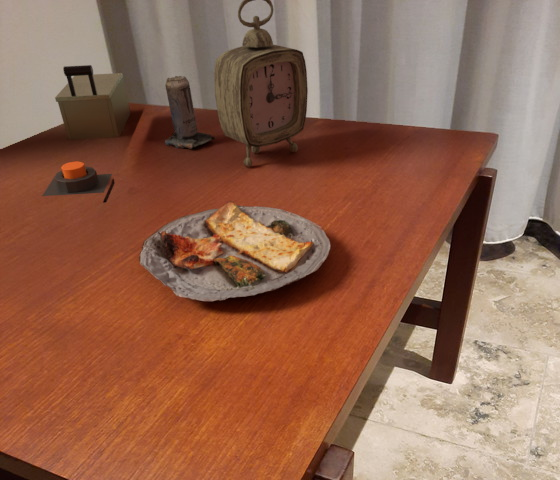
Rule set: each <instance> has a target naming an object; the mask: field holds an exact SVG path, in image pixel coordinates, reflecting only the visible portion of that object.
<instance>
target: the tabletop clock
mask: <svg viewBox="0 0 560 480" xmlns="http://www.w3.org/2000/svg"><path fill="white" fill-rule="evenodd" d="M253 1H255V0H242V1H241V3H240V5H239V6H238V10H237V18H238V20H239V22H240V24H241V25H243V26H245V27H247V28H252V29H249V30H247V31H246V33H244V36H243V39H242V43H241V44H242V45H241V46H238V47H234V48H231V49H229V50H227V51H225V52H223V53H222V54H221V55H219V56H218V57H217V58H216V59H215V63H214V69H213V80H214V96H215V103H216V110H217V116H218V121H219V124H220V128H221V131H222V132H223V134H224V136H225V137H228V138H230V139H232V140H234V141H236V142H239V143H242V144H244V145H245V149H246V151H245V152H246V157H245V158H244V159H243V165H244V167H246V168H250V167H252V166H253V160H252V158H251V152H252V153H253V154H254V155H257V154H259V153H260V151H261V147H265V146H271V145H275V144H279V143H281V142H283V141H286V142H287V143H288V144H289V150H290V152H292V153H296V152H298V150H299V146H298V144H297V143H296V142H293V141H292V139H291V138H293V137H295V136H297V135H298V134H299V133H300V132H302V131H303V130H304V127H305V123H306V119H307V111H308V110H307V109H308V95H309V92H308V91H309V90H308V89H309V88H308V72H307V65H306V59H305V56H304V52H303V51H301V50H298V49H295V48H291V47H286V46H282V45H277V44H274V42H273V39H272V35H271V34H270V32H268V30H267V29H265V28H261V26H264V25H266V24H267V23H268V22H270V21H271V19H272V17H273V15H274V5H273V3H272V0H263V1H264V2H266V3H267V4H268V5H269V7H270V11H269V12H270V13H269V14H268V16H267V17H266V18H264V19H261V20H260V17H259V16H258V15H254V16H253V18H252V20H253V21H251V22H249V21H245V20H244V19H243V18H242V15H241V13H242V11H243V9H244V7H245V5H247V4H248V3H250V2H251V3H252V2H253Z"/></svg>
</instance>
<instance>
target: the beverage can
mask: <svg viewBox="0 0 560 480" xmlns="http://www.w3.org/2000/svg"><path fill="white" fill-rule="evenodd" d="M164 87H165V90H166V96H167V101H168V105H169V111H170V116H171V122H172V125H173V129H174V131H173V132H172V135H171V136H169V137H168V139H165V141H164V143H165V145H166V146H167V147H169V146H174V148H177V149H179V148H181V149H184V148H187V149H188V150H193V148H196V147H198V146H200V145H203V144H206V143H207V142H211V141H213V140H216V138H215V135H214V136H213V135H212V134H209V133H205V132H201V131H200V132H199V131H198V125H197V120H196V115H195V108H194V103H193V97H192V90H191V85H190V81H189V80H188V78H187V77H186V76H182V75H179V76H178V75H175V76H172V77H167V78H166V81H165V85H164Z"/></svg>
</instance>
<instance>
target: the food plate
mask: <svg viewBox="0 0 560 480" xmlns="http://www.w3.org/2000/svg"><path fill="white" fill-rule="evenodd" d="M330 250H331V241H330V238H329V237H328V236H327V233H326V232H325V229H324V228H322V227H321V226H320V225H319V224H317V223H315V222H314V221H312V220H310V219H308V218H306V217H303V216H301V215H299V214H297V213H294V212H290V211H289V210H284V209H282V208H278V207H277V208H275V207H268V206H259V205H257V206H248V205H245V206H244V205H237V204H236V203H235V200H227V201H226V203H225V204H223V205H222V206H221V207H219V208H211V209H207V210H204V211H199V212H196V213H192V214H188V215H183V216H181V217H179V218H177V219H174V220H171V221H169V222H167V223H165V224H164V225H163V226H161V227H160V228H158V230H156V231H154V232H153V233H152V234H151V235H150V236H148V237H147V238H146V239H145V240H144V241H143V243H142V246H141V250H140V253H139V257H138V261H139V265H141V267H143V268H144V269H145V270H146V271H148V272H149V274H151V275H152V276H153V277H154V278H155V279H156V280H157V281H160V283H162V284H163V285H164V287H168V288H170V289H171V291H172V292H173V293H174V295H175V296H176V297H180V298H184V299H185V298H186V299H189V300H193V301H195V300H196V301H201V302H215V301H225V300H227V299H229V298H241V297H249V296H256V295H258V294H264V293H267V292H273V291H275V290H278V289H280V288H281V287H284V286H286V285H290V284H292V283H294V282H299V280H301V279H303V278H305V277H306V276H308V275H310V274H312V273H314V272H316V271H318V270H319V268H320V267H321V266H322V265H323V264H324V262H325V260H327V258H328V256H329V254H330Z"/></svg>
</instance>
